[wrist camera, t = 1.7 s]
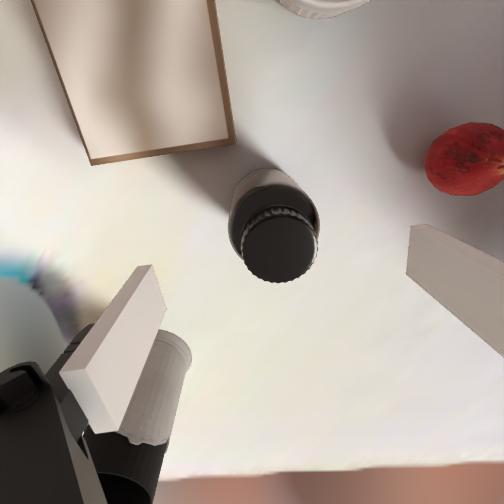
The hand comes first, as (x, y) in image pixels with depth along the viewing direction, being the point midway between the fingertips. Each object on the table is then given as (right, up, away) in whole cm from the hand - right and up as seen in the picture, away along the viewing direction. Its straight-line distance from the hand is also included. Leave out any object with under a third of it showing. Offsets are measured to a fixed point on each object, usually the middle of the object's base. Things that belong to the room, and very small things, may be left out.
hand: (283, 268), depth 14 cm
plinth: (-10, +16, +9) cm, 20 cm away
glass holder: (-15, -15, +22) cm, 31 cm away
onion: (+16, +10, +12) cm, 23 cm away
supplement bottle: (0, +6, +14) cm, 15 cm away
